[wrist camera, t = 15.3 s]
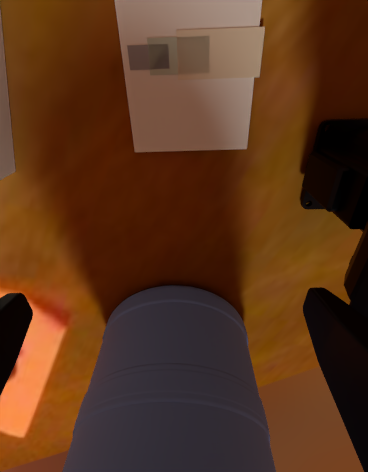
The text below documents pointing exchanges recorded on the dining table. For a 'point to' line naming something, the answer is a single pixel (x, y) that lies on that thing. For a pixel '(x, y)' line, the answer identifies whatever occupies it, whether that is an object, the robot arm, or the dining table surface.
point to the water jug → (172, 390)
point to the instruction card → (190, 71)
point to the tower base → (5, 118)
